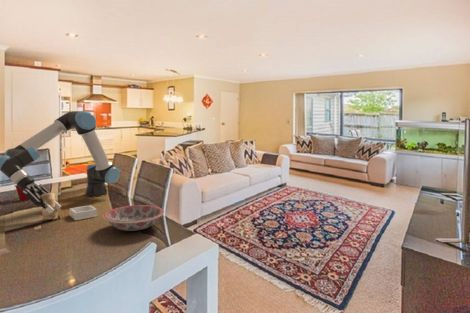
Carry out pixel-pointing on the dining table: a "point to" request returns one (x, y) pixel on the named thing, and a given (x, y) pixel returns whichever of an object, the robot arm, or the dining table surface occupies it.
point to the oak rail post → (50, 200)
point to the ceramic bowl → (133, 217)
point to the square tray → (83, 212)
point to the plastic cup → (20, 194)
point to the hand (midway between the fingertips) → (55, 209)
